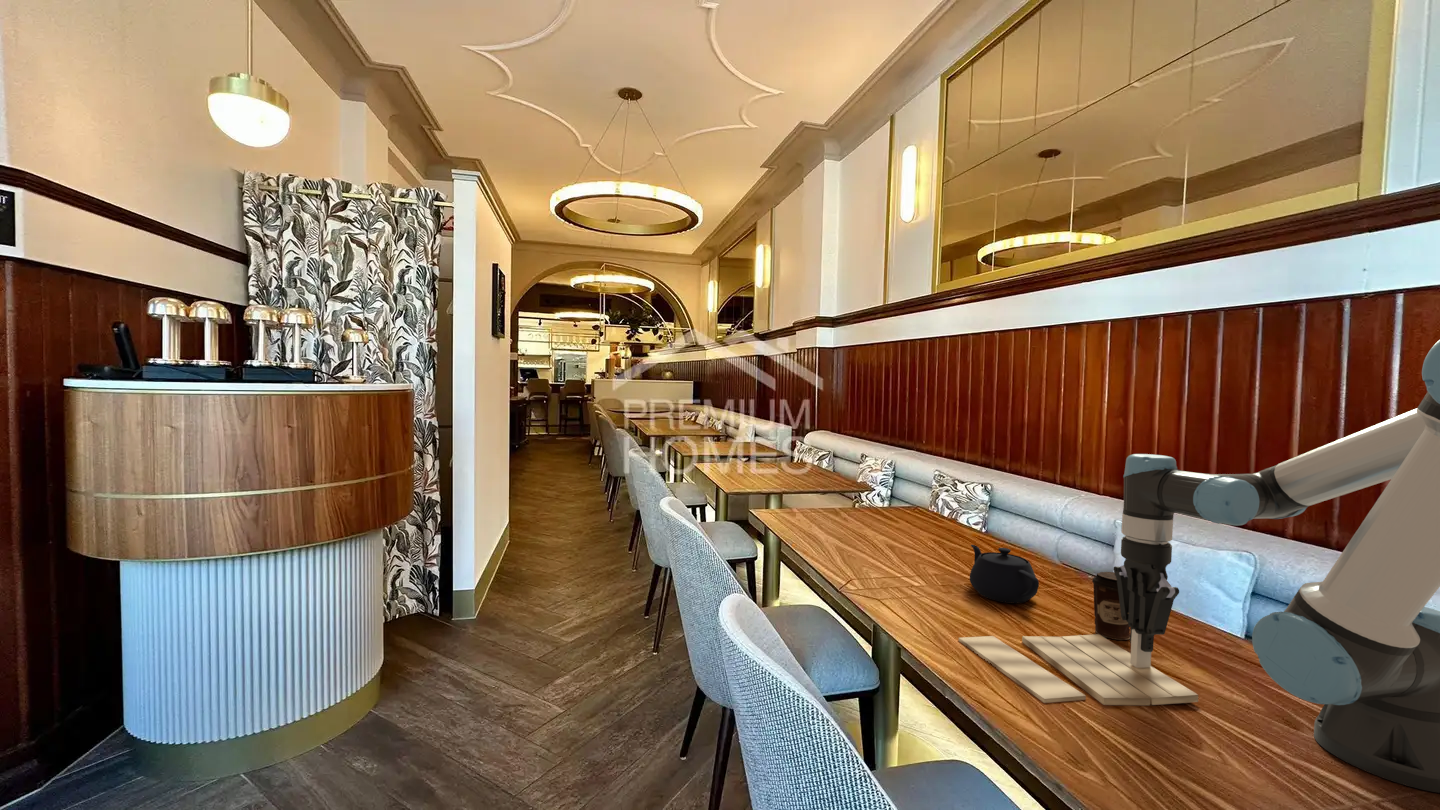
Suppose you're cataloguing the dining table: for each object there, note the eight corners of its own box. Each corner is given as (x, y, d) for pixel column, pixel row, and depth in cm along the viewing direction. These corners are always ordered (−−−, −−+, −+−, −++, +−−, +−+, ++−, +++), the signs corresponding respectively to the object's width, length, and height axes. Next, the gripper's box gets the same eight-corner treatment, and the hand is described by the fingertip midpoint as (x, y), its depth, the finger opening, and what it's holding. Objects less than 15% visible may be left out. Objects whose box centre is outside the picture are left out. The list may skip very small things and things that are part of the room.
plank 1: (1085, 702, 99) (1085, 695, 99) (1044, 706, 97) (1044, 698, 97) (992, 641, 122) (993, 635, 122) (958, 643, 121) (958, 637, 121)
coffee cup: (1144, 646, 121) (1148, 584, 120) (1100, 641, 123) (1103, 580, 122) (1124, 629, 129) (1127, 571, 129) (1083, 625, 131) (1086, 567, 131)
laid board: (1149, 705, 97) (1150, 697, 97) (1103, 704, 97) (1103, 697, 97) (1059, 642, 121) (1059, 636, 121) (1022, 641, 121) (1022, 635, 121)
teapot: (1064, 612, 139) (1066, 561, 138) (1006, 615, 136) (1008, 563, 135) (995, 578, 163) (997, 534, 163) (944, 579, 160) (946, 535, 160)
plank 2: (1198, 701, 98) (1198, 694, 98) (1152, 705, 97) (1152, 697, 97) (1098, 639, 122) (1098, 633, 122) (1061, 642, 121) (1061, 636, 121)
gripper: (1196, 549, 101) (1189, 683, 101) (1139, 530, 114) (1133, 649, 114) (1154, 548, 100) (1148, 683, 101) (1101, 529, 113) (1096, 649, 114)
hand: (1140, 665), depth 108 cm, fingers closed
